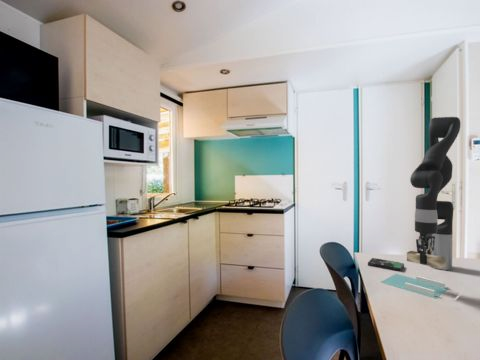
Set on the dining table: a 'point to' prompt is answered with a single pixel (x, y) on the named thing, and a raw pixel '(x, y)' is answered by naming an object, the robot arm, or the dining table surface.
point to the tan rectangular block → (431, 259)
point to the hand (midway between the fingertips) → (425, 262)
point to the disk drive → (386, 264)
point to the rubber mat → (401, 280)
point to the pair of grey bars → (422, 289)
